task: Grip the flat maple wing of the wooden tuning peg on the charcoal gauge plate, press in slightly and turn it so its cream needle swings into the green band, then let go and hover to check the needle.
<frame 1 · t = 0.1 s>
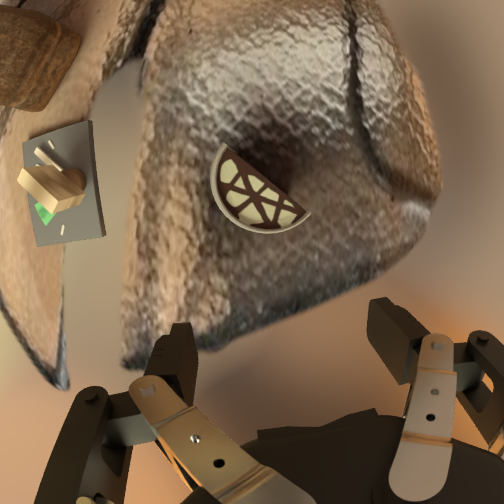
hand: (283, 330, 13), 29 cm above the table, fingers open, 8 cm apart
gauge plate: (80, 181, 37), on the table
food container: (246, 192, 40), on the table
tuning peg: (44, 174, 30), point 7 cm above the table, hinge at -45.0°
bread: (17, 57, 29), on the table
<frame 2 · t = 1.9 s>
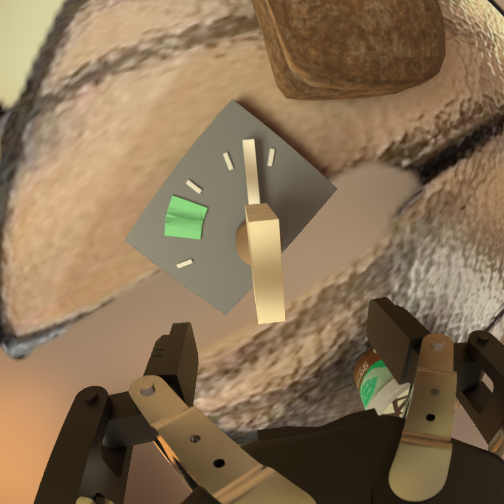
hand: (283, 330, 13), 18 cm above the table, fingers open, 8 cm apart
gauge plate: (255, 232, 30), on the table
food container: (365, 368, 36), on the table
tuning peg: (258, 217, 23), point 7 cm above the table, hinge at -45.0°
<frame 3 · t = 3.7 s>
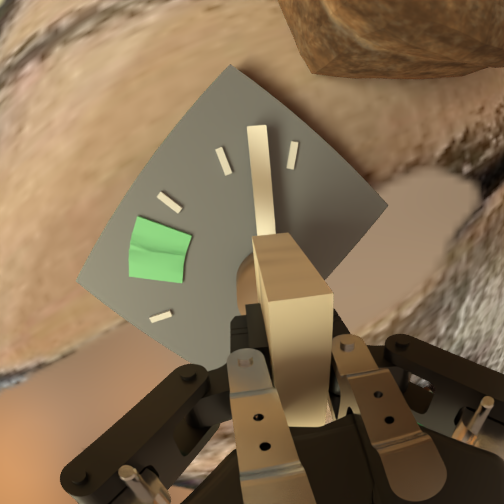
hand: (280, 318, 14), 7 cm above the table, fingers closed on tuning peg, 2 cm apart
gauge plate: (266, 269, 20), on the table
tuning peg: (277, 263, 13), point 7 cm above the table, hinge at -45.0°, touching gripper
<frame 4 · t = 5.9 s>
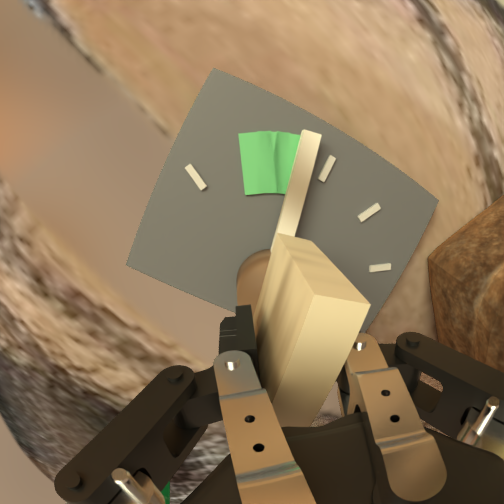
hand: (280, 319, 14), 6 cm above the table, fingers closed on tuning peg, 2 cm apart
gauge plate: (266, 270, 20), on the table
tuning peg: (299, 265, 13), point 7 cm above the table, hinge at 12.1°, touching gripper
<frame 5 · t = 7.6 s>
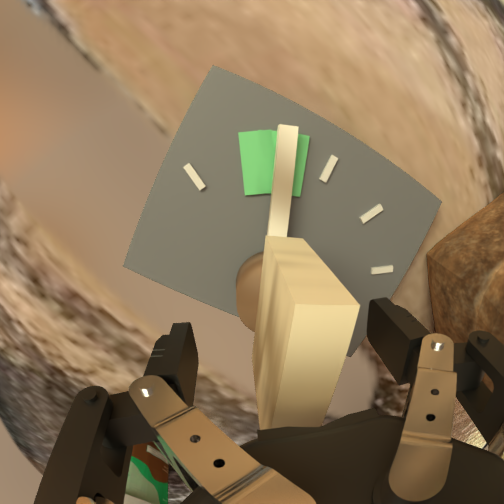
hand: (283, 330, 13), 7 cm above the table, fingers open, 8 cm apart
gauge plate: (266, 272, 19), on the table
food container: (118, 439, 24), on the table
tuning peg: (290, 267, 12), point 7 cm above the table, hinge at 21.0°
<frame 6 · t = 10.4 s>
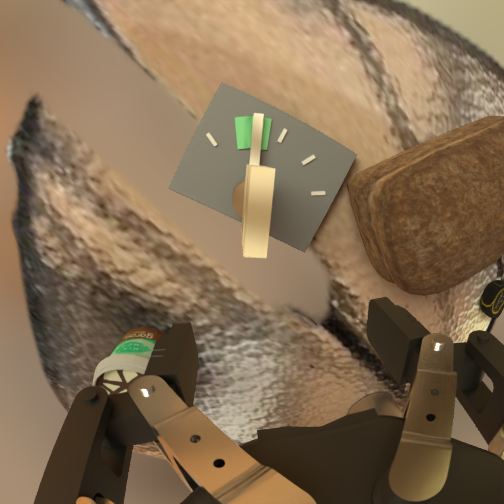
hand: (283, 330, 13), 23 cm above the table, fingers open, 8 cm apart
gauge plate: (249, 194, 33), on the table
food container: (141, 337, 39), on the table
tuning peg: (257, 173, 26), point 7 cm above the table, hinge at 21.8°
bread: (440, 184, 35), on the table
tape measure: (490, 293, 42), on the table
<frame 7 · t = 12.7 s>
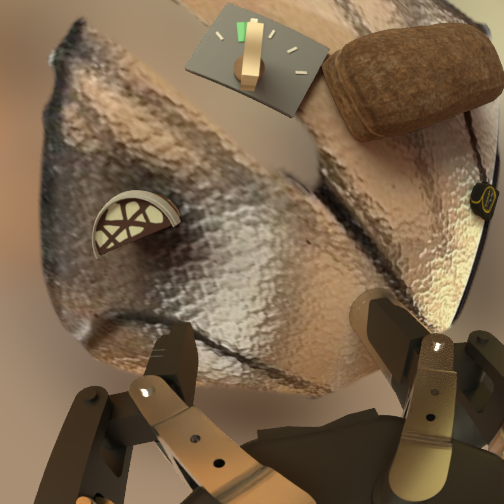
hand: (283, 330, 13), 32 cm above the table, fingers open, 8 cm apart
gauge plate: (247, 75, 37), on the table
food container: (145, 206, 42), on the table
tuning peg: (252, 43, 30), point 7 cm above the table, hinge at 21.8°
bread: (405, 81, 38), on the table
tape measure: (479, 197, 45), on the table
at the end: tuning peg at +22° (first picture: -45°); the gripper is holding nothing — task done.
